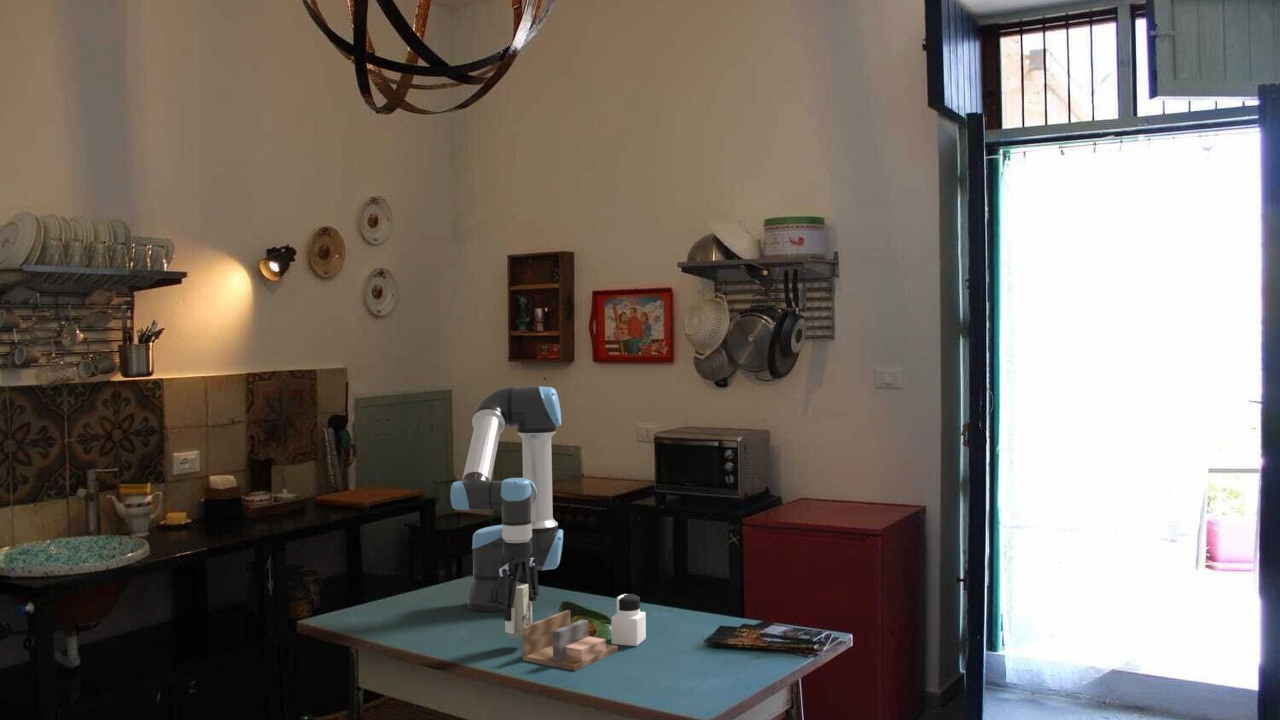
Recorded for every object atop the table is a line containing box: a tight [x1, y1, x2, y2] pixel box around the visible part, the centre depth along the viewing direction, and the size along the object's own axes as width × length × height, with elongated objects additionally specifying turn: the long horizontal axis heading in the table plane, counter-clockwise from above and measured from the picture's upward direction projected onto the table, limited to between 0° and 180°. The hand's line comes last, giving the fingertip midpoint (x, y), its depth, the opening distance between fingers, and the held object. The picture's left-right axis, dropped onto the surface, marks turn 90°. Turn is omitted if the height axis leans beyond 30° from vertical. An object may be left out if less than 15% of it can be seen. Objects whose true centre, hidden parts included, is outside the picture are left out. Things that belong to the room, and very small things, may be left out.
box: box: [508, 582, 530, 639], centre depth 262 cm, size 5×4×13 cm
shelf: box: [522, 609, 619, 672], centre depth 255 cm, size 18×16×8 cm
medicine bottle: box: [610, 593, 647, 647], centre depth 266 cm, size 7×7×12 cm
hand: (519, 629), depth 262 cm, fingers closed on box, 6 cm apart
